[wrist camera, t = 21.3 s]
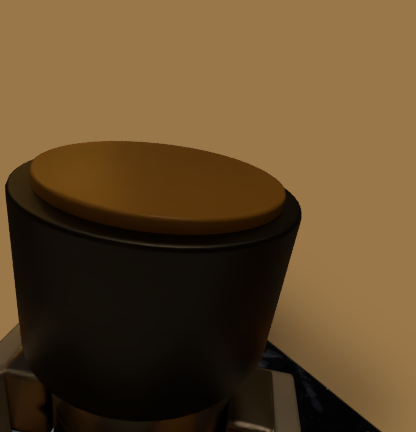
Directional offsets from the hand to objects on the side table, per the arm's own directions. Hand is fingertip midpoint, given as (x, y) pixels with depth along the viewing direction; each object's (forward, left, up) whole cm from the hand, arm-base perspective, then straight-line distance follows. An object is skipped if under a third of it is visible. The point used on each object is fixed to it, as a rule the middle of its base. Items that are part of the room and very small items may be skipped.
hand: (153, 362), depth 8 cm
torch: (-1, -1, -7) cm, 7 cm away
